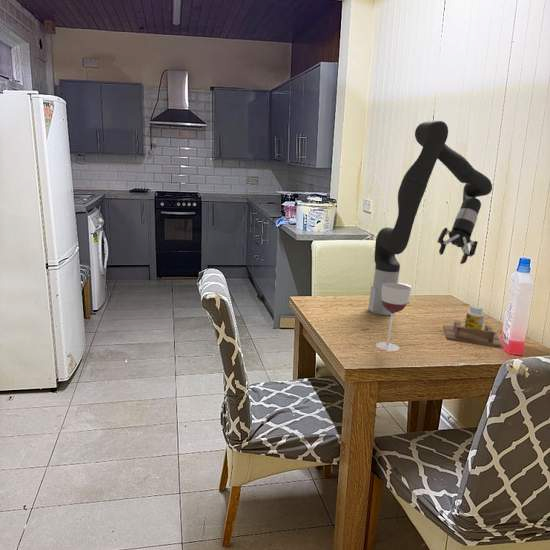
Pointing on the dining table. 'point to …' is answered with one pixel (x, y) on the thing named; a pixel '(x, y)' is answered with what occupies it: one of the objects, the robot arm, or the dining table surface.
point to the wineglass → (393, 307)
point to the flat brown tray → (472, 334)
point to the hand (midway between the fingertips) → (451, 258)
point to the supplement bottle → (474, 317)
